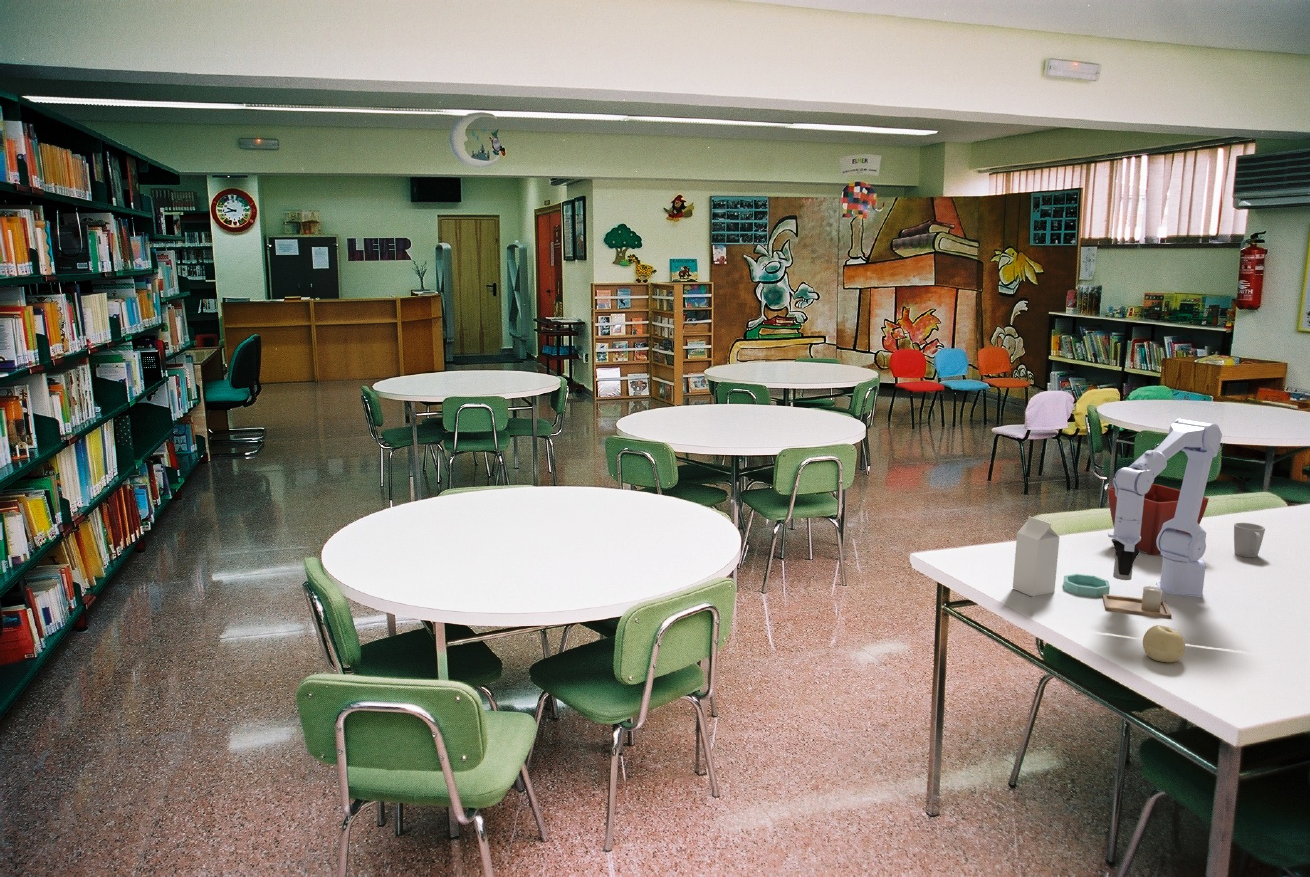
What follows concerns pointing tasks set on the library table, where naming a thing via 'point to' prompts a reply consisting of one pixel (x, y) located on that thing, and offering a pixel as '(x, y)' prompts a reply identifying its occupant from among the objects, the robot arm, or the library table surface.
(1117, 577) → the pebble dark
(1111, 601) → the tray
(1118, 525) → the robot arm
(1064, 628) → the library table surface
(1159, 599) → the pebble light
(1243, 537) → the cup
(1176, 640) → the apple
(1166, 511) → the plant pot
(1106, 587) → the dish
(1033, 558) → the milk carton
